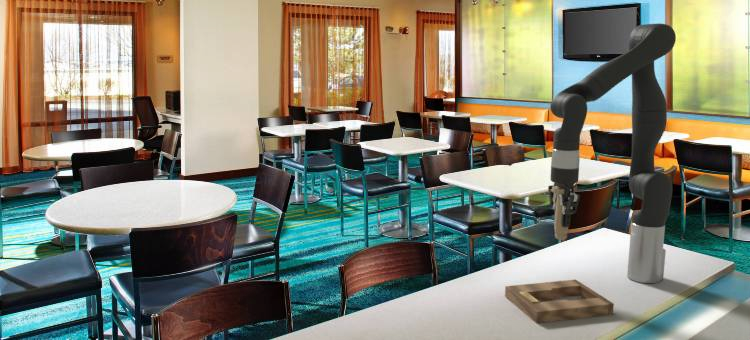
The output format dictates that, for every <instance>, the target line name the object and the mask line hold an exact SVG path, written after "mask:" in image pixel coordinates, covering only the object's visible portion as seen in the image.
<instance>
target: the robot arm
mask: <svg viewBox="0 0 750 340" xmlns="http://www.w3.org/2000/svg"><path fill="white" fill-rule="evenodd" d="M676 38H677V37H676V32H675V30H674V29H673V27H672V26H670V25H669V24H666V23H647V24H639V25H637V26H635V27H634V28H633V30H632V31H631V33H630V35H629V39H628V51H626V52H625V53H623V54H621V55H619V56H617V57H615V58H613V59H611V60H609V61H606V62H605V63H603V64H601V65H600V66H598V67H596V68H595V69H593V71H591V72H590V73H589V74H587V75H586V76H585V77H583V78H582V79H581V80H580V81H578V82H576V83H574V84H572V85H569V86H568V87H566V88H564V89H562V90H561V91H560V92H558V93H557V94H556V95H555V96H553V98H552V100H551V102H550V105H549V106H550V112H551V113H552V115H554V116H555V117H556V118H559V119H562V124H561V127H557V128H556V129H555V130H554V132H553V143H552V144H553V145H552V152H551V163H550V181H551V182H552V183H553V184H552V185H548V187H547V188H548V189H547V190H548V197H549V198H548V199H549V205H550V207H552V209H553V210H554V212H553V213H554V214H553V222H554V221H555V211H556V202H557V195H556V194H555V193H553V192H552V187H553V186H558V187H560V188H562V189H565V191H564V195H563V194H560V195H559V196H560V205H561V206H562V213H563V214H562V226H563V227H568V228H569V227H570V226H571V219H572V218H571V216H572V215H573V214H576V213H577V209H578V206H579V203H580V198H581V195H580V194H578V193H575V192H574V187H575V186H574V185H575V184H577V183H578V182H579V179H580V178H579V175H580V174H579V173H580V160H581V159H580V158H581V157H580V143H581V133H582V131H583V128H584V124H585V123H586V122H585V121H586V118H587V114H588V103H591V102H595V101H598V100H599V99H601V98H602V97H603V96H604V95H606V94H607V93H608V92H609V91H611V90H612V89H613V88H615V87H616V86H617V85H619V84H620V83H621V82H622V81H624V80H626V79H627V78H628V77H630V76H631V93H632V94H631V97H632V98H631V99H632V100H631V101H632V102H631V103H632V104H631V128H632V129H631V131H632V132H631V133H632V134H631V156H630V157H631V158H630V167H629V176H628V187H629V190H630V193H631V194H632V195H633V196H634V197H636V198H638V199H640V200H642V203H641V209H640V210H635V211H633V213H632V214H631V221H630V223H631V225H630V237H629V247H628V248H629V249H628V250H629V251H628V261H627V274H626V276H627V277H626V278H628V279H629V280H632V281H634V282H637V283H642V284H656V283H659V282H660V281H664V275H665V264H666V252H667V251H666V248H664V242H665V230H666V221H667V219H668V217H669V215H670V210H671V205H672V204H671V202H672V197H673V183H672V182H673V181H672V179H671V177H670V176H669V175H668V174H666V173H665V172H661V171H657V170H655V155H656V154H655V153H656V149H657V146H658V144H659V143H660V140H661V139H662V137H663V135H664V133H665V129H666V128H667V127H666V126H667V119H668V118H667V115H668V114H667V113H668V109H667V108H668V107H667V106H668V104H667V100H666V97H665V94H664V92H663V90H662V88H661V86H660V84H659V81H658V79H657V77H656V72H655V61H657V60H659V59H660V58H662V57H665V56H666V55H667V54H668V53H670V52H671V51H672V50H673V48H674V47H675V44H676ZM564 202H568V203H564ZM566 206H567V208H566Z"/></svg>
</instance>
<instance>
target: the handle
mask: <svg viewBox="0 0 750 340" xmlns="http://www.w3.org/2000/svg"><path fill="white" fill-rule="evenodd" d="M564 191H565V189H562V188H560V187H558V186H553V187H552V192H553V193H555V194H556V195H557V202H556V211H555V221H554V220H553V222H554V226H553V227H554V239H557V240H559V241H561V240H562V241H565V240H566V239H567V238H568V232H569V227H563V226H562V214H563V213H562V206H561V205H560V196H559V195H560V194H563V195H564ZM575 192H576V186H574V193H575ZM564 203H568V202H564ZM566 208H567V206H566Z"/></svg>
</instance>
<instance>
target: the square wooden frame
mask: <svg viewBox="0 0 750 340" xmlns="http://www.w3.org/2000/svg"><path fill="white" fill-rule="evenodd" d="M580 296H581V297H580ZM504 297H505V298H506V299H507V300H508V301H510V302H511V303H512V304H514V305H515V307H517V308H518V310H520V311H521V312H523V313H524V315H526V316H527V317H529V319H531V320H532V321H533V322H534V323H536V324H540V323H550V322H549V321H551V322H558V321H557V320H560V321H567V320H568V319H569V320H575V319H583V318H584V319H585V317H586V318H593V316H595V317H602V315H604V316H610V315H609V314H613V315H614V307H615V306H614V305H615V304H614V303H613V302H612V301H610V300H608V299H607V298H606V297H604V296H602V295H601V294H599V293H598V292H596V291H595V290H593V289H592V288H590V287H588V286H587V285H585V284H584V283H582V282H580V281H579V280H578V279H567V280H566V279H565V280H559V281H558V280H555V281H548V282H546V281H545V282H537V283H536V282H535V283H525V284H513V285H506V286H505V290H504ZM560 297H561V298H569V297H580V298H581V299H573V300H568V299H560ZM583 298H584V299H583ZM553 299H559V300H553ZM545 300H546V301H545Z"/></svg>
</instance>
